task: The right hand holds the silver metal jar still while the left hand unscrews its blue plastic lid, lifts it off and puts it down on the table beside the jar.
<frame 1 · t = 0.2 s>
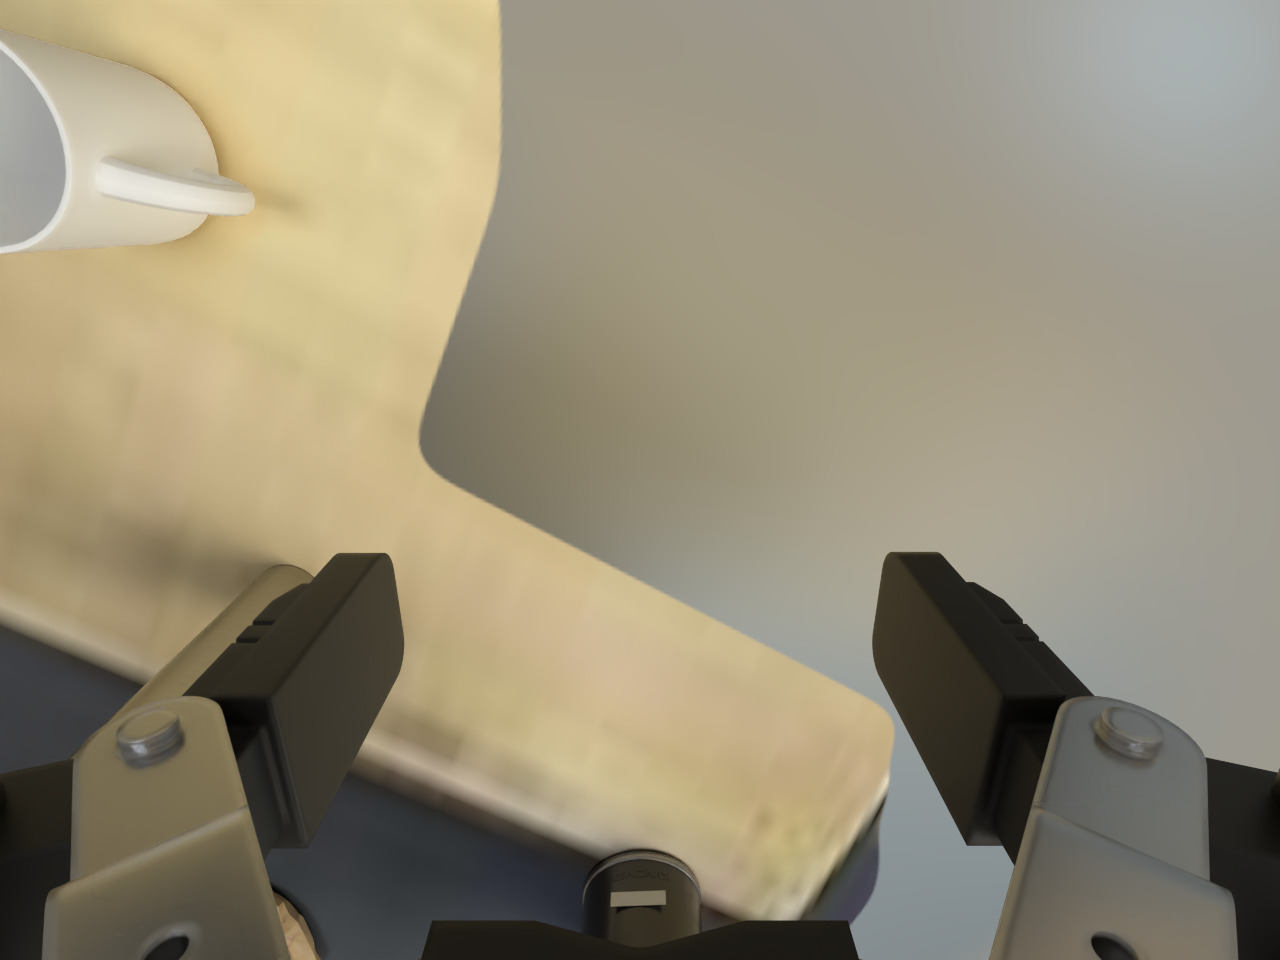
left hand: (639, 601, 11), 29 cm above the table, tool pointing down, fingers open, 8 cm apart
jar: (290, 593, 45), on the table
mug: (183, 171, 35), on the table
sculpture: (178, 950, 57), on the table
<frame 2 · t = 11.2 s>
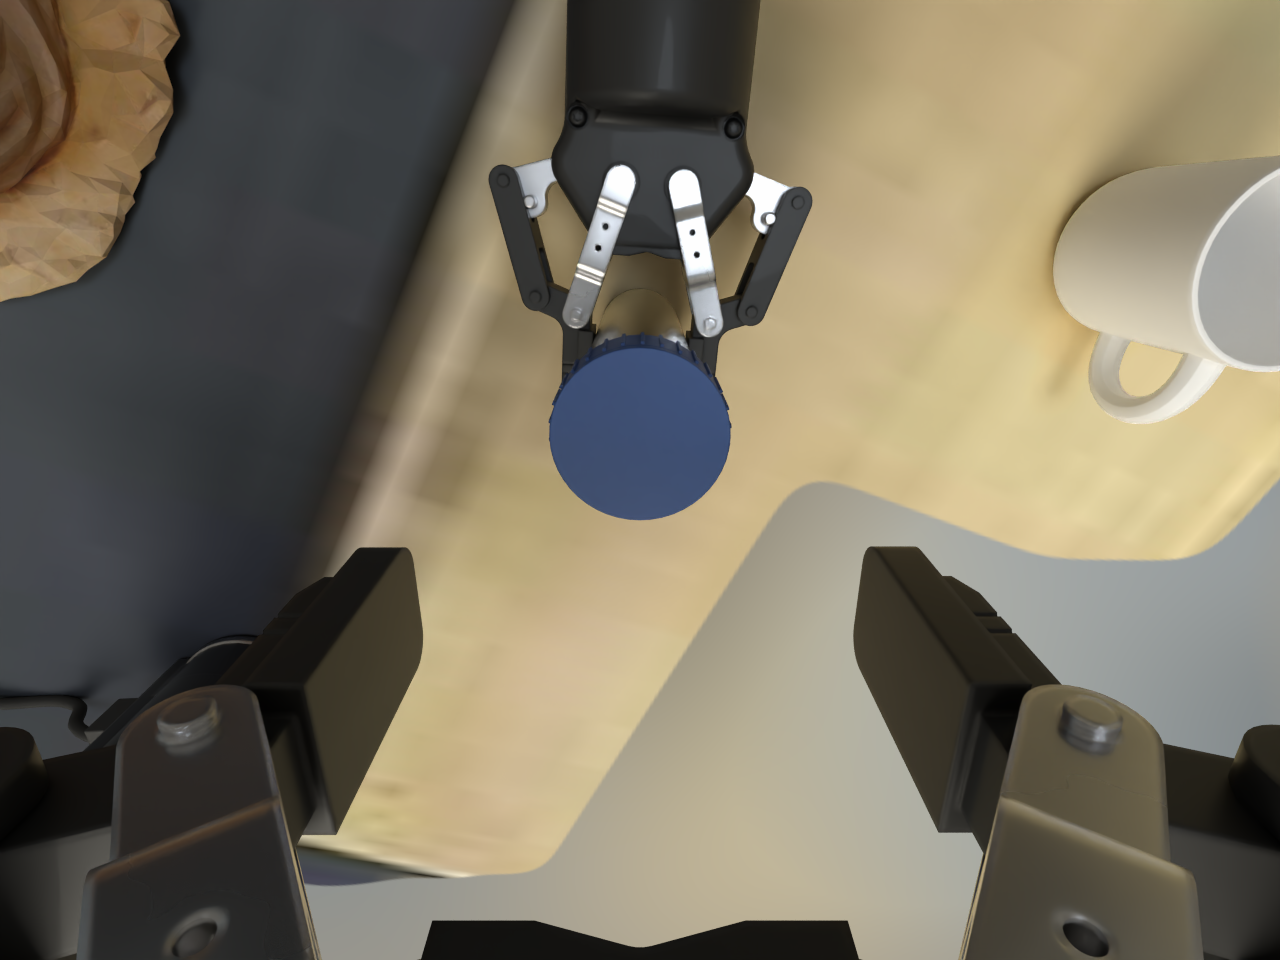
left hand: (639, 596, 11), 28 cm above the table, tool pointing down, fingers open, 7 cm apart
right hand: (636, 406, 33), fingers closed on jar, 4 cm apart
lid: (639, 434, 20), point 19 cm above the table, screwed on, not yet turned
jar: (640, 328, 38), on the table, touching right hand
mug: (1105, 288, 37), on the table
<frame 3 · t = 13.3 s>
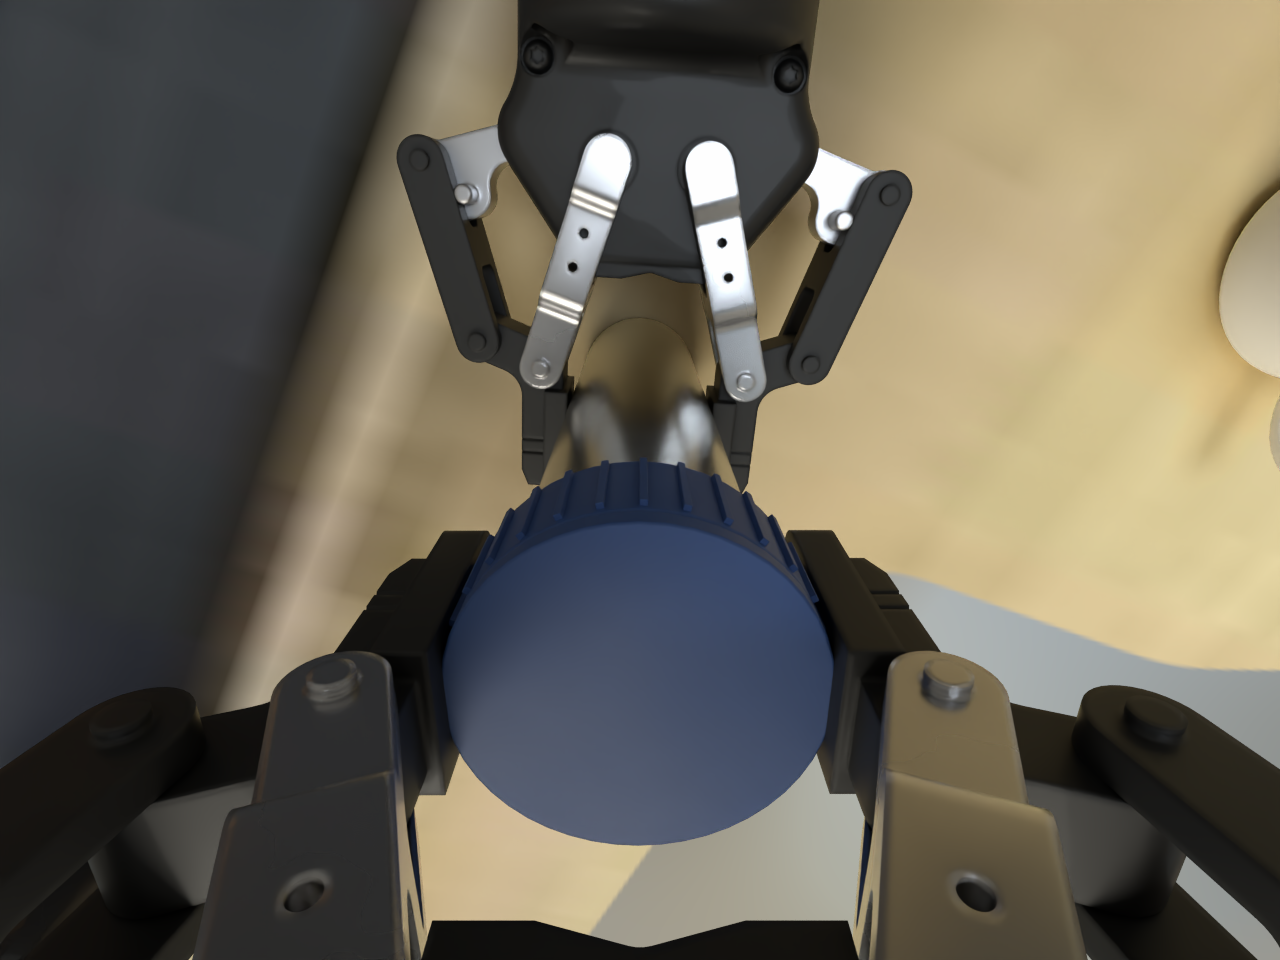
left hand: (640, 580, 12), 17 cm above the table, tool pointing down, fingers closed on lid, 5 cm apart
right hand: (634, 497, 22), fingers closed on jar, 4 cm apart
lid: (638, 684, 9), point 19 cm above the table, screwed on, not yet turned, touching left hand
jar: (639, 372, 27), on the table, touching right hand
when the left hand's fingers open (17 cm above the table, at t = 14.7 s): lid stays where it is, point 20 cm above the table.
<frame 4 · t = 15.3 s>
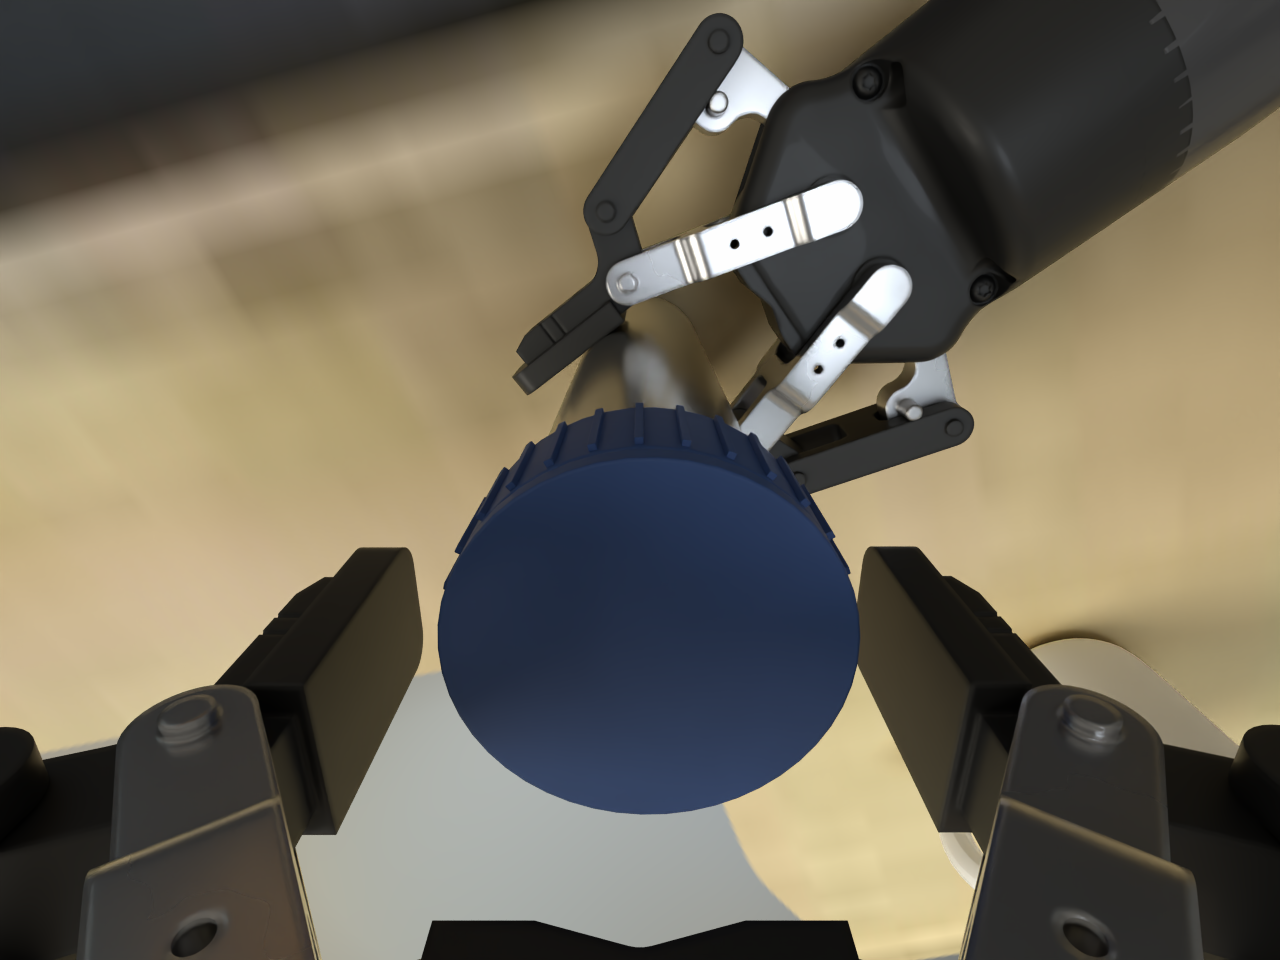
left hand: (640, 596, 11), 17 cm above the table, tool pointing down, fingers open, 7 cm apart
right hand: (577, 441, 22), fingers closed on jar, 4 cm apart
lid: (648, 640, 9), point 20 cm above the table, turned 77° so far, risen 0.3 cm, still on its thread
jar: (644, 351, 27), on the table, touching right hand
mug: (1017, 714, 33), on the table
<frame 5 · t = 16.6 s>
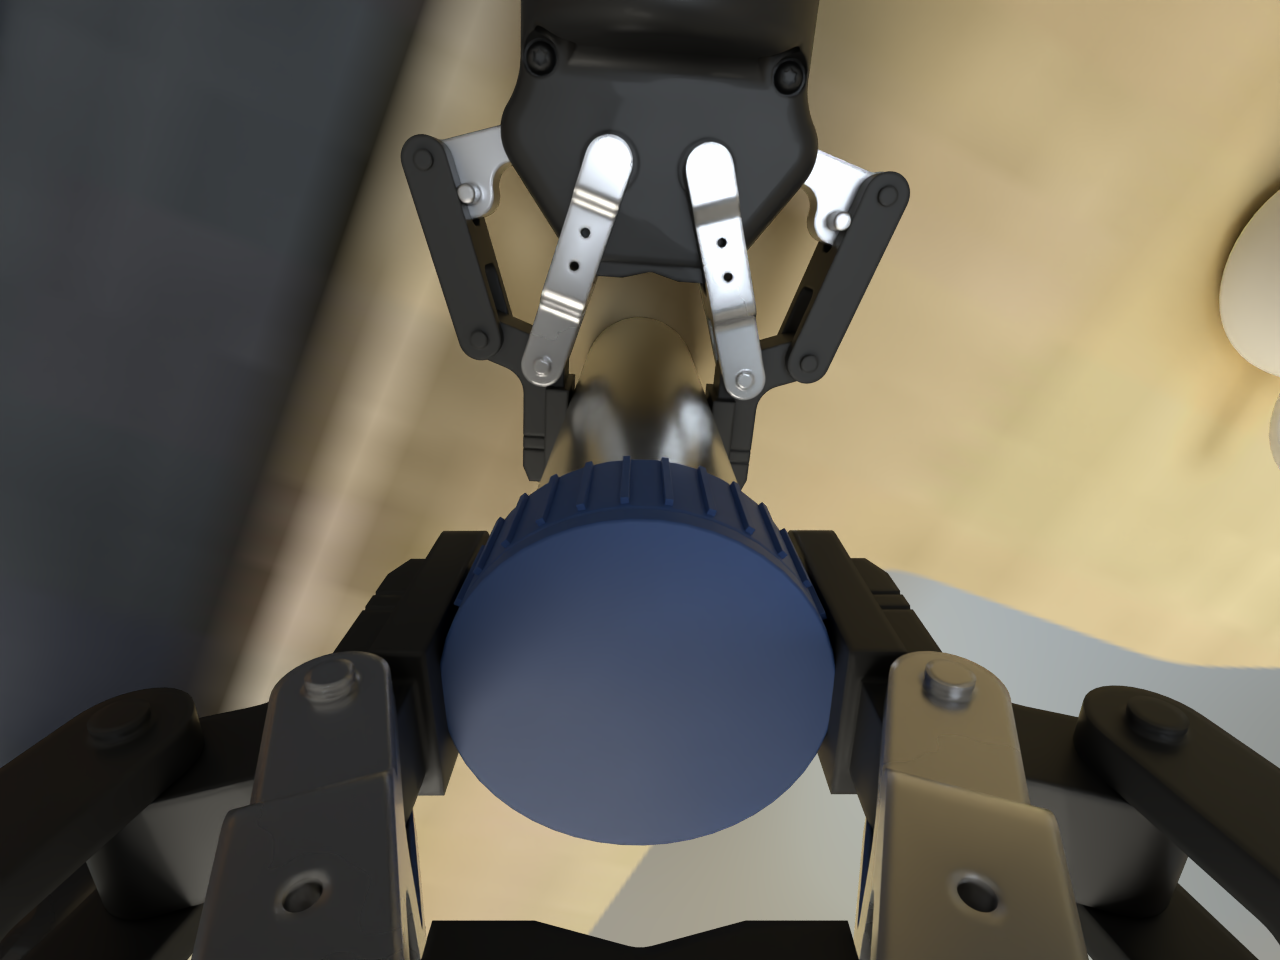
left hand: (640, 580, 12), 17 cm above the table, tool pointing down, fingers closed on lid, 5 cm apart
right hand: (634, 494, 22), fingers closed on jar, 4 cm apart
lid: (637, 683, 9), point 20 cm above the table, turned 77° so far, risen 0.3 cm, still on its thread, touching left hand
jar: (639, 371, 27), on the table, touching right hand
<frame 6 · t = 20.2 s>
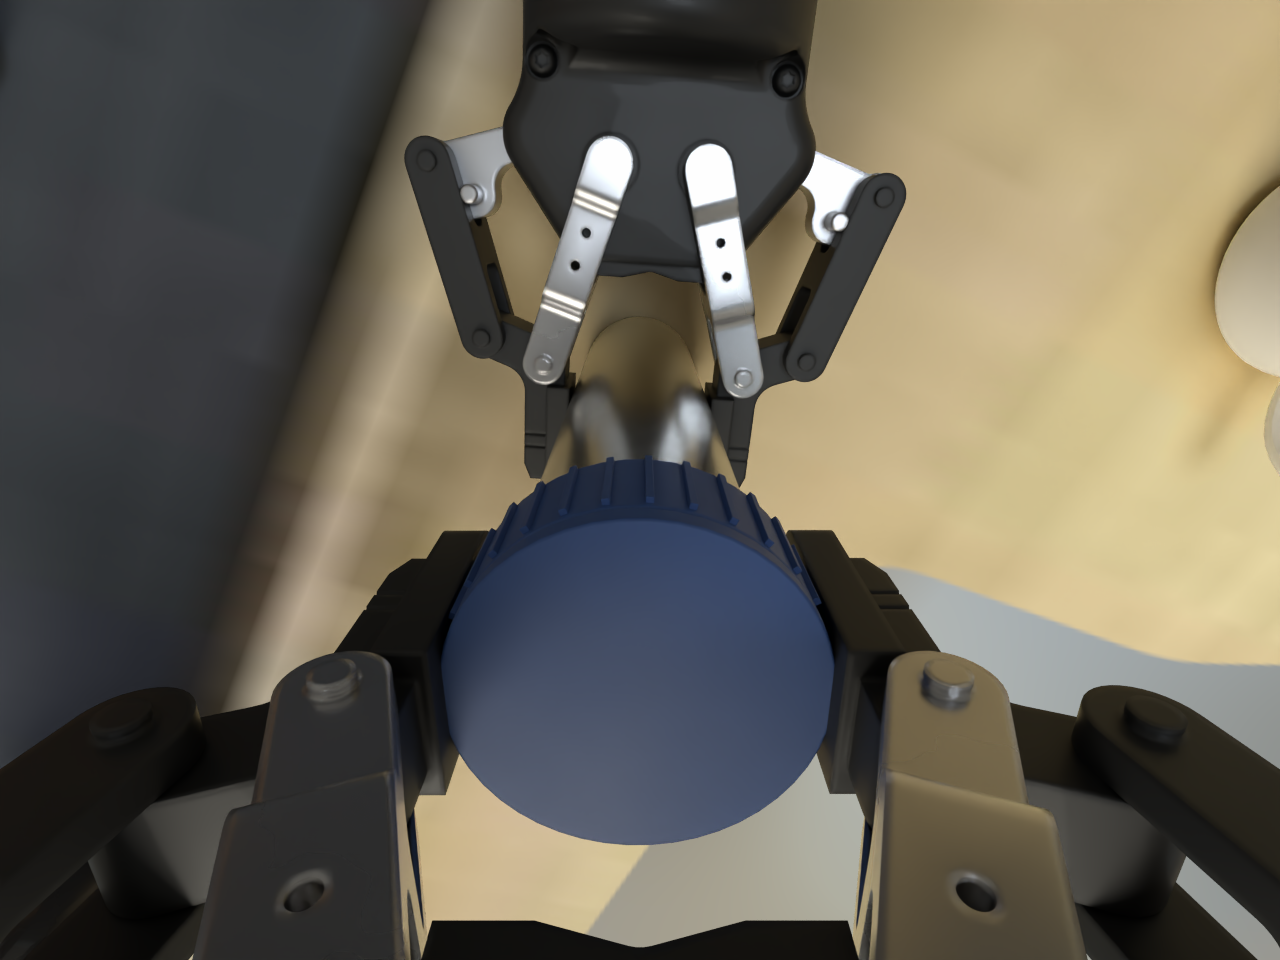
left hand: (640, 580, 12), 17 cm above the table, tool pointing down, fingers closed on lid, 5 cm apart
right hand: (634, 491, 23), fingers closed on jar, 4 cm apart
lid: (637, 682, 9), point 20 cm above the table, turned 155° so far, risen 0.5 cm, still on its thread, touching left hand
jar: (639, 370, 28), on the table, touching right hand
when the left hand's fingers open (0 cm above the table, at t = 27.8 s): lid drops 1 cm, point 2 cm above the table.
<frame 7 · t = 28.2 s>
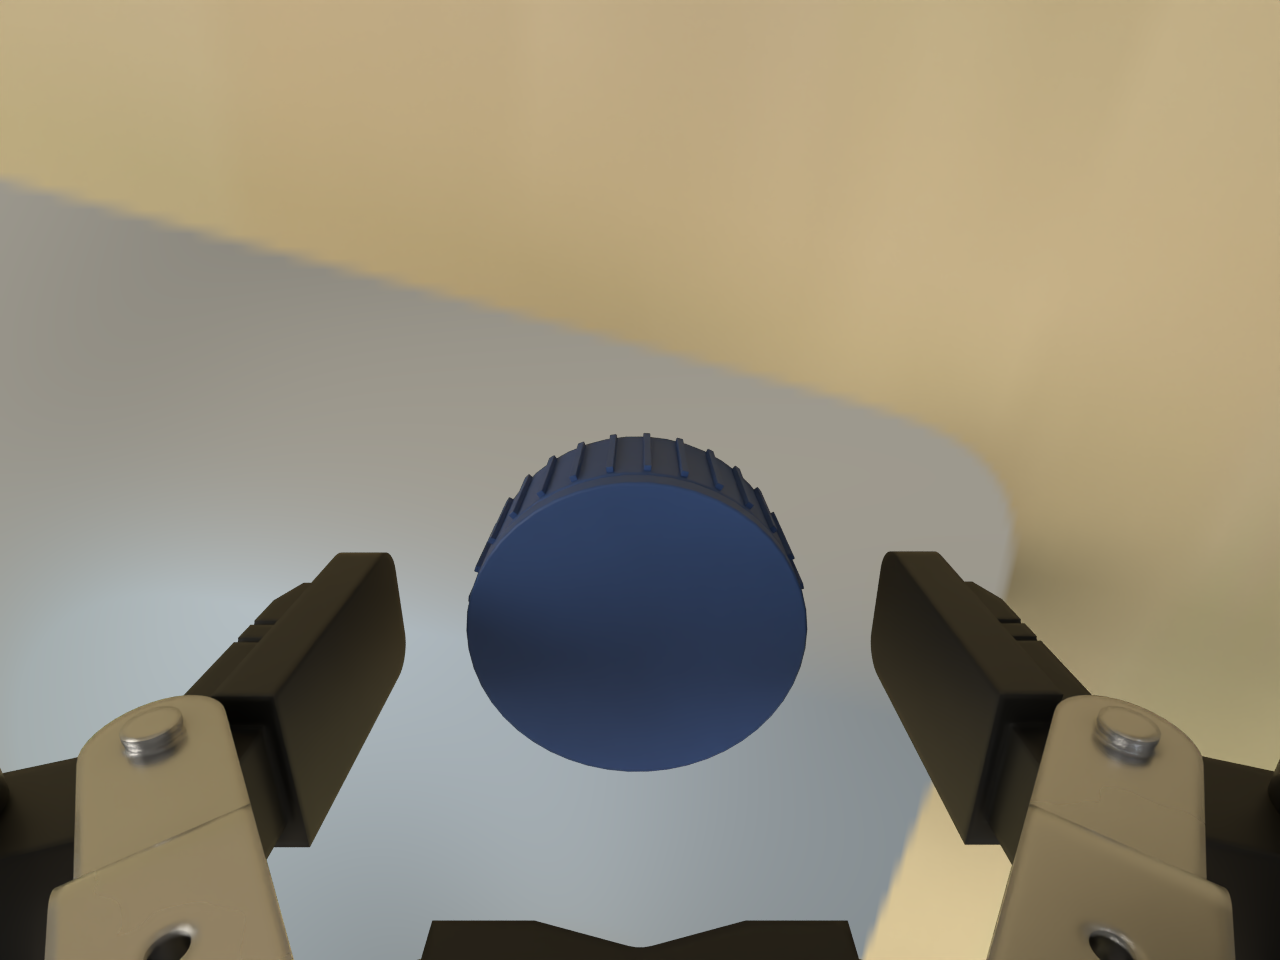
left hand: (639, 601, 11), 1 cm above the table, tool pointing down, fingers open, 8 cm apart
lid: (636, 627, 11), point 2 cm above the table, off its thread
when the right hand's fingers open (7 cm above the table, at t = 28.8 s): jar stays where it is, on the table.
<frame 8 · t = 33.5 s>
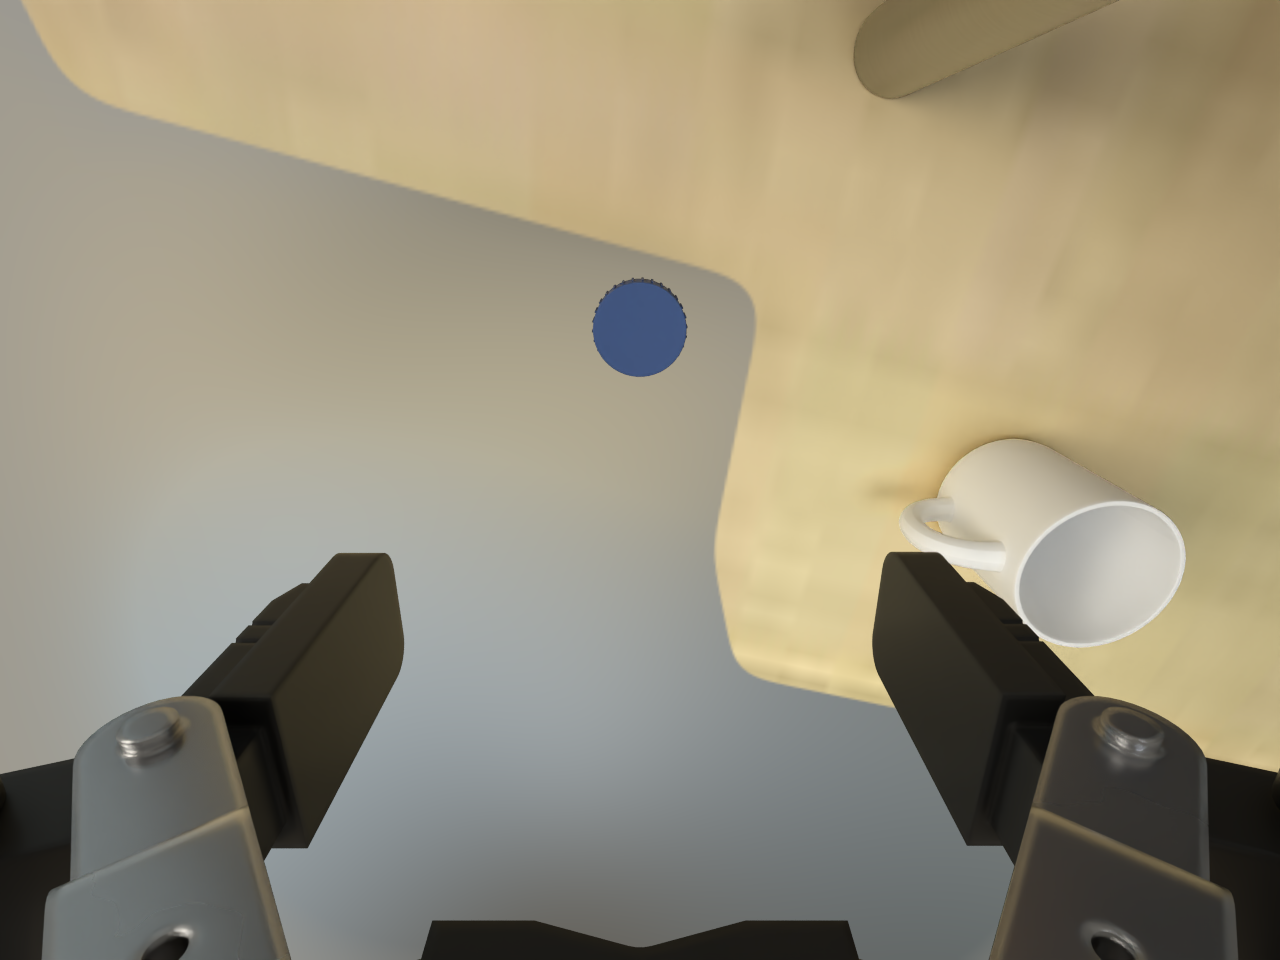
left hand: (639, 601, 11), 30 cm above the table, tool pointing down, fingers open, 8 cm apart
lid: (639, 329, 38), point 2 cm above the table, off its thread
jar: (896, 50, 34), on the table
mug: (966, 494, 43), on the table
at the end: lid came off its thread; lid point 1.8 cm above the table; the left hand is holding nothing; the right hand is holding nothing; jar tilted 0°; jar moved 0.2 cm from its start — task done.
